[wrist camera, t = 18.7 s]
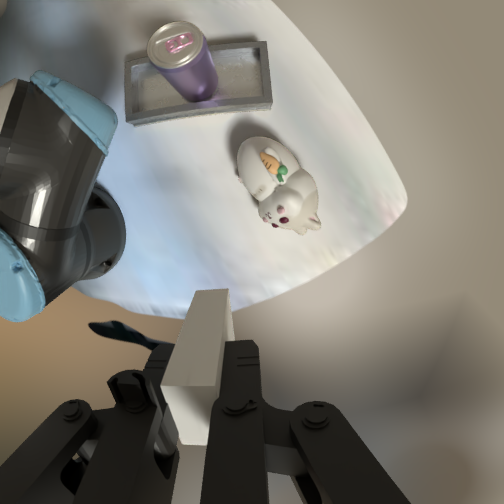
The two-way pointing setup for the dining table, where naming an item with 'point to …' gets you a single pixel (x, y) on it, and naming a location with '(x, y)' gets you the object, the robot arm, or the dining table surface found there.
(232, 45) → the grey shallow rectangular tray
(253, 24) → the dining table surface
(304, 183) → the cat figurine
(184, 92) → the beverage can
